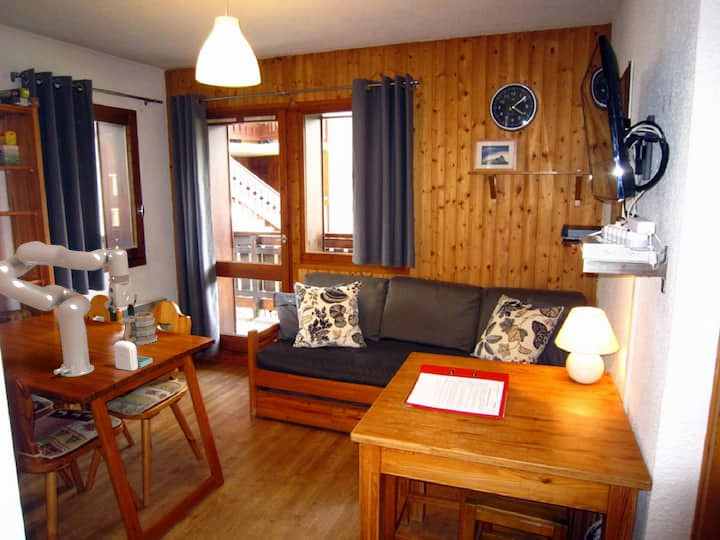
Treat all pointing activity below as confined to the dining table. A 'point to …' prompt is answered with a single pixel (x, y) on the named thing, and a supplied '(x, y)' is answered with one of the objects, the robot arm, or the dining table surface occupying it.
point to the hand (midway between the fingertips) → (122, 318)
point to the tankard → (140, 328)
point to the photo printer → (125, 355)
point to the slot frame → (145, 361)
